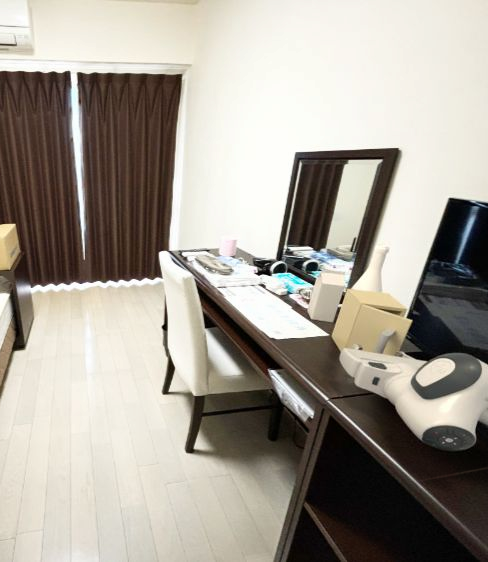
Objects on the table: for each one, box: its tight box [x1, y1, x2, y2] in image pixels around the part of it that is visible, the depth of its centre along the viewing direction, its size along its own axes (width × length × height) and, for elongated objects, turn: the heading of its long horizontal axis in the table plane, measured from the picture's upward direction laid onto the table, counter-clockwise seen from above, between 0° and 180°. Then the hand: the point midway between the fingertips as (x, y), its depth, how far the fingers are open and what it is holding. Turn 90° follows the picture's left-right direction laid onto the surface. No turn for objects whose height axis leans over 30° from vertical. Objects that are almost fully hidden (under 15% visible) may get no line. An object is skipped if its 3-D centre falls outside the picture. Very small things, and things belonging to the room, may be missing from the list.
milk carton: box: [307, 269, 346, 323], centre depth 113 cm, size 7×7×19 cm
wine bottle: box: [350, 244, 390, 293], centre depth 107 cm, size 10×10×30 cm
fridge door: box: [346, 305, 413, 356], centre depth 85 cm, size 6×11×18 cm, turn 35°
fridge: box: [331, 288, 408, 352], centre depth 94 cm, size 11×11×18 cm
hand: (376, 349), depth 82 cm, fingers open, 8 cm apart
